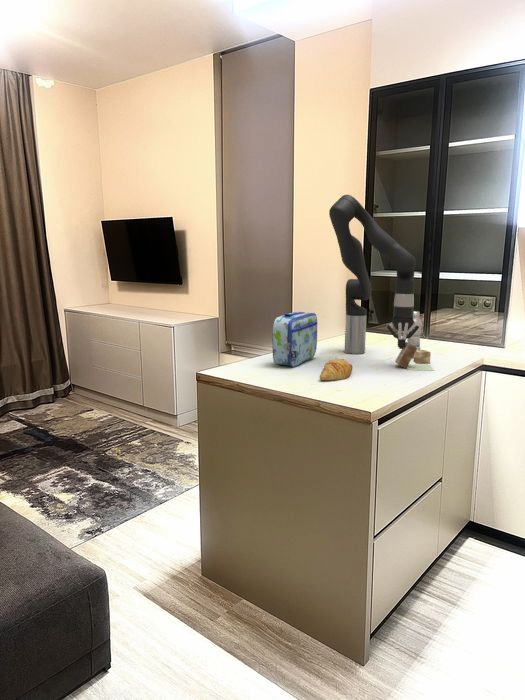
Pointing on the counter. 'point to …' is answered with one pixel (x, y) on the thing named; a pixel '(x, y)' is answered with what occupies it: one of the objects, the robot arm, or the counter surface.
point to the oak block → (422, 357)
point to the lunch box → (294, 338)
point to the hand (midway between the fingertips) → (401, 348)
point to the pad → (419, 367)
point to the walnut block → (406, 355)
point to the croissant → (336, 370)
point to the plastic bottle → (416, 336)
